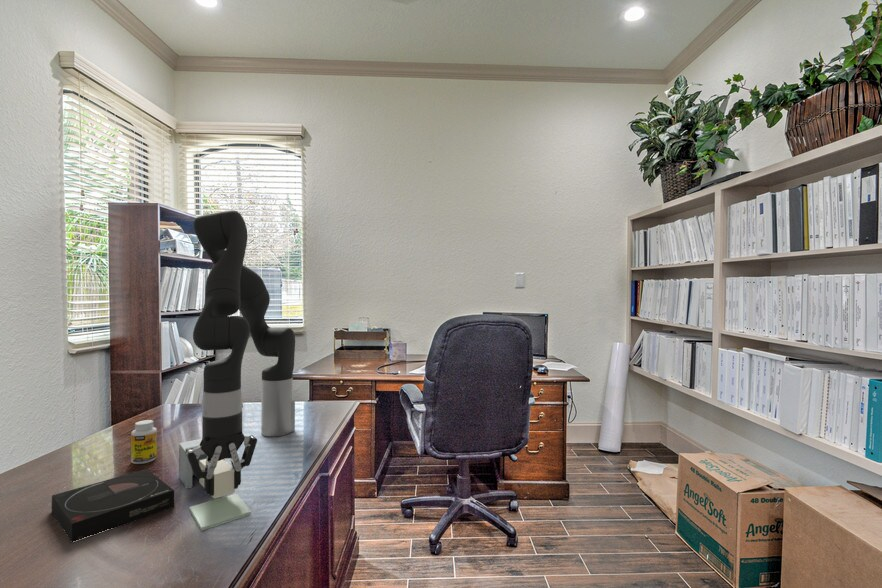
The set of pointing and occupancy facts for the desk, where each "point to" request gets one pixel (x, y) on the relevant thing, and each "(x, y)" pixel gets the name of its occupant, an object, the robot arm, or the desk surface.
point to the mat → (219, 511)
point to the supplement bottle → (143, 442)
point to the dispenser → (184, 464)
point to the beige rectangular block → (220, 478)
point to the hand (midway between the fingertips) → (222, 490)
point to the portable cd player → (111, 503)
